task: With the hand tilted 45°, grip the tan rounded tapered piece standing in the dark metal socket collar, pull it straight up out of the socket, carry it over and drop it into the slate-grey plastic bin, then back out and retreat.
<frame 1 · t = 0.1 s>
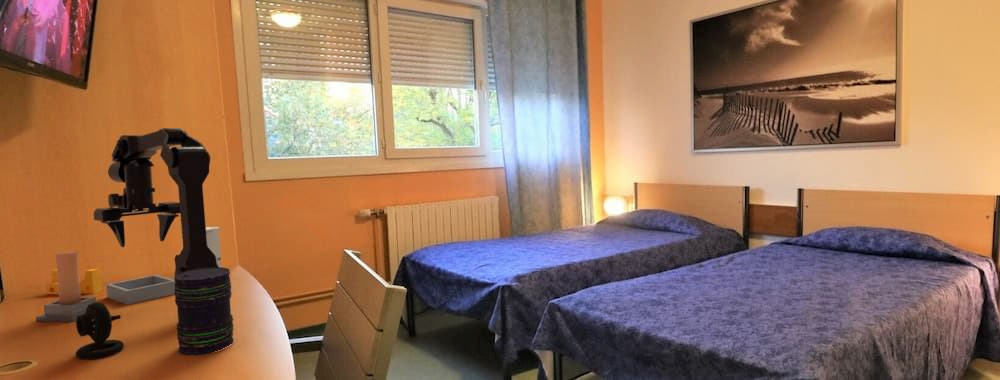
hand: (142, 244, 137), 15 cm above the table, tool pointing down, fingers open, 9 cm apart
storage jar: (206, 347, 106), on the table
webcam: (100, 353, 103), on the table
pipe clamp: (74, 294, 145), on the table
skincare box: (204, 276, 163), on the table
tan rounded tapered piece: (71, 311, 126), point 1 cm above the table, touching stud base
bin: (142, 295, 142), on the table
stud base: (71, 315, 126), on the table
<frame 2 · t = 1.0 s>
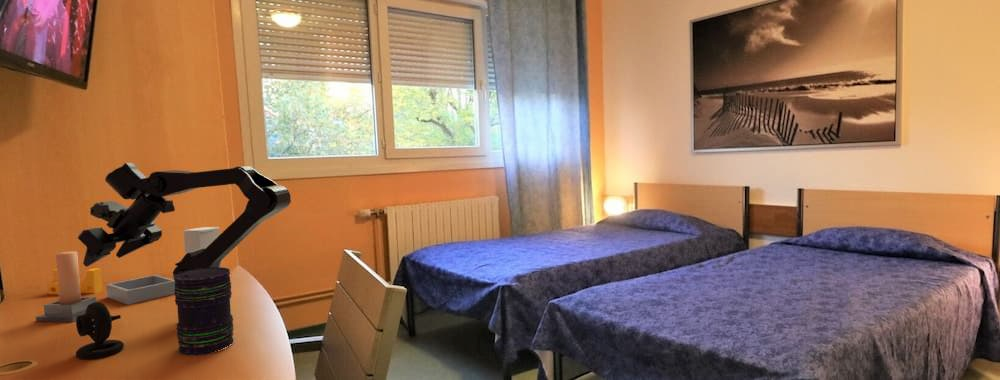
hand: (102, 260, 124), 13 cm above the table, tool tilted 45°, fingers open, 9 cm apart
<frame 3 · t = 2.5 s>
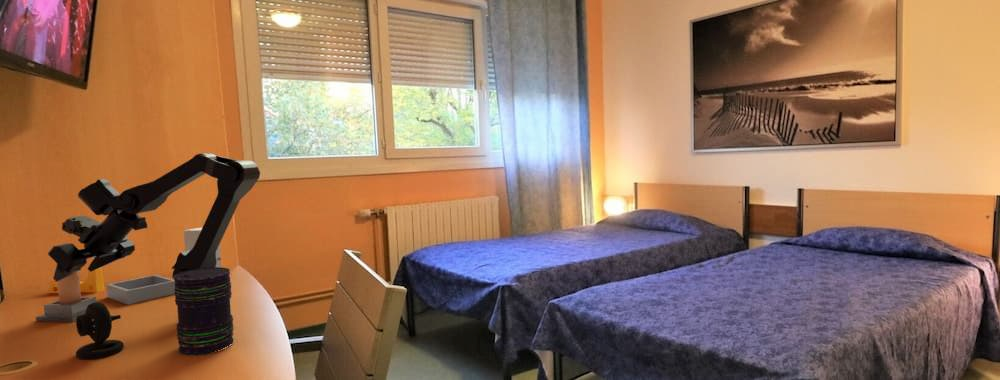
hand: (73, 274, 125), 10 cm above the table, tool tilted 45°, fingers open, 9 cm apart
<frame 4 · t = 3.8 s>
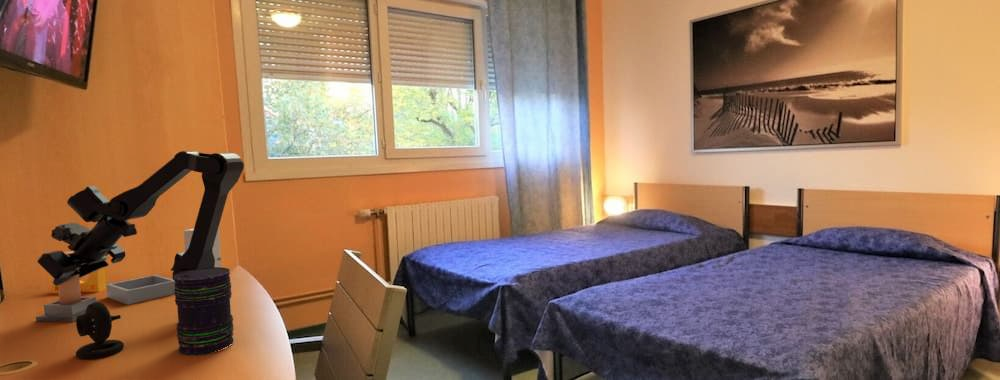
hand: (63, 281, 125), 8 cm above the table, tool tilted 45°, fingers closed on tan rounded tapered piece, 4 cm apart
tan rounded tapered piece: (71, 311, 126), point 1 cm above the table, touching gripper, stud base
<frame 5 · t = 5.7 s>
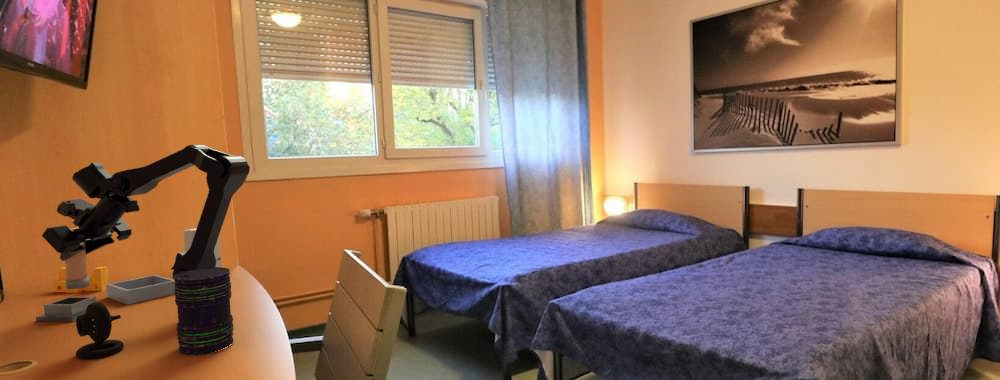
hand: (70, 257, 127), 13 cm above the table, tool tilted 45°, fingers closed on tan rounded tapered piece, 4 cm apart
tan rounded tapered piece: (77, 286, 127), point 6 cm above the table, touching gripper
when the fingers open (9 cm above the table, at t = 7.9 s): tan rounded tapered piece drops 1 cm, resting on bin.
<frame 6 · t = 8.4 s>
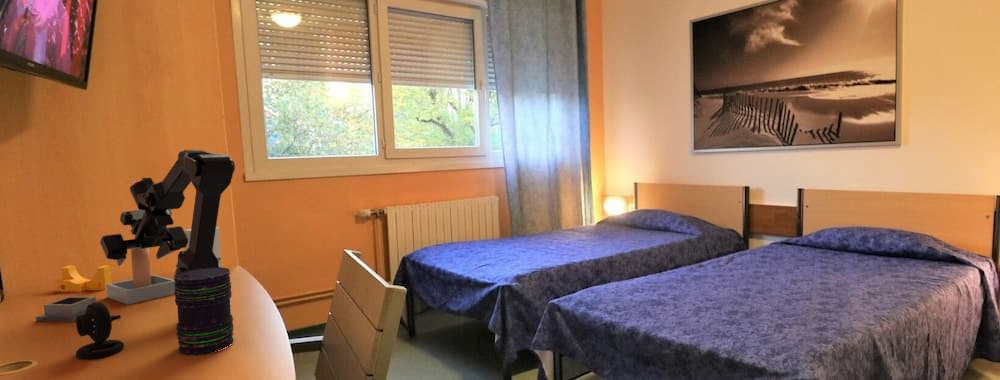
hand: (138, 261, 142), 9 cm above the table, tool tilted 45°, fingers open, 9 cm apart
tan rounded tapered piece: (142, 293, 142), point 1 cm above the table, touching bin
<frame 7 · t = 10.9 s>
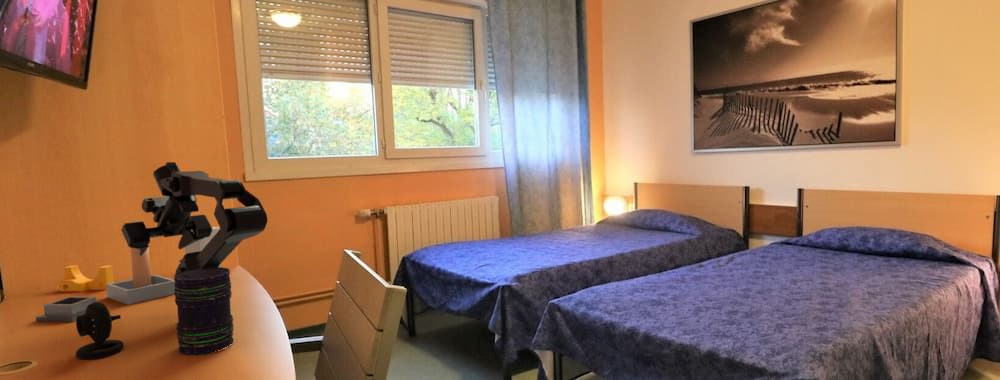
hand: (160, 250, 135), 13 cm above the table, tool tilted 45°, fingers open, 9 cm apart
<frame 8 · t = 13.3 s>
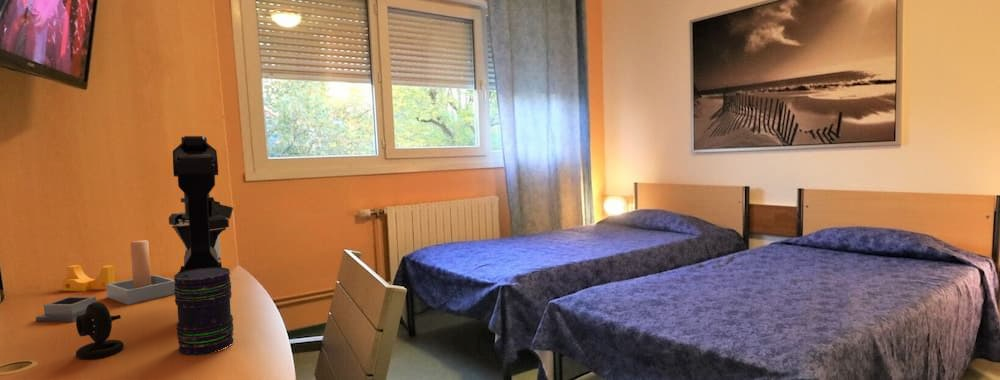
hand: (200, 253, 138), 12 cm above the table, tool pointing down, fingers open, 9 cm apart
at the end: tan rounded tapered piece inside the target area on the bin (0.1 cm from its centre), point 0.6 cm above the bin's base; the gripper is holding nothing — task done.
